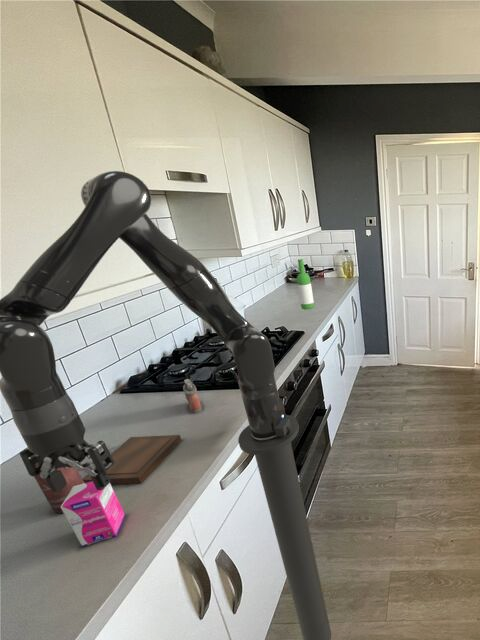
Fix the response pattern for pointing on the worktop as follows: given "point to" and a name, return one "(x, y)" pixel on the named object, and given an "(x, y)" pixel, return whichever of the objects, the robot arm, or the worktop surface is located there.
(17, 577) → the worktop surface
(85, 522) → the supplement box
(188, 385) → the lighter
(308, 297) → the wine bottle
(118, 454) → the board
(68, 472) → the can
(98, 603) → the worktop surface
